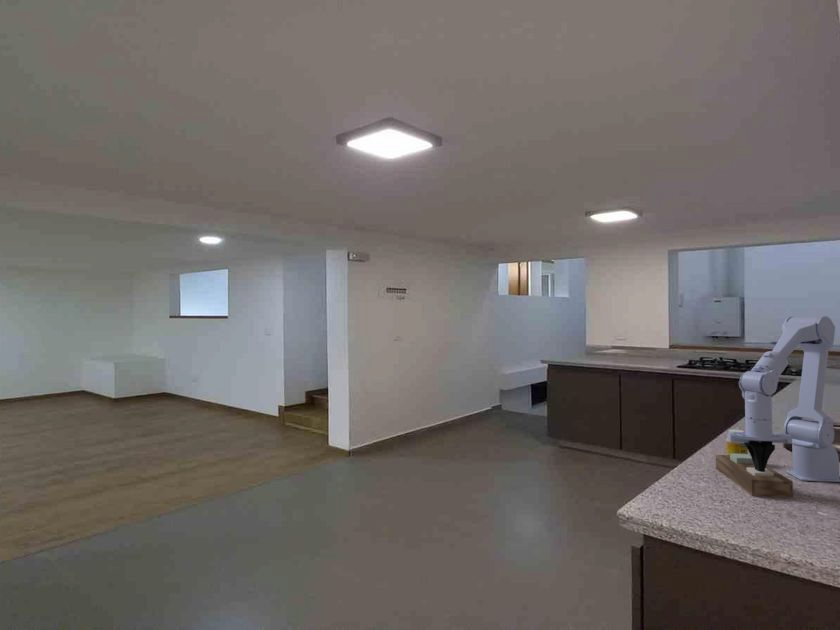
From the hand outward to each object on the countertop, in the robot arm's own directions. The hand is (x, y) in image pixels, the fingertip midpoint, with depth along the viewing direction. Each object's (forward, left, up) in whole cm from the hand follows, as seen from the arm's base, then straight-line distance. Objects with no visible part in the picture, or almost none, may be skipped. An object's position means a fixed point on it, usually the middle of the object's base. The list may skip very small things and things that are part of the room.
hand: (759, 470), depth 125 cm
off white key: (0, 0, -3) cm, 3 cm away
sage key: (0, -10, -2) cm, 10 cm away
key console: (0, -5, -5) cm, 7 cm away
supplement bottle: (-4, -23, -5) cm, 24 cm away
